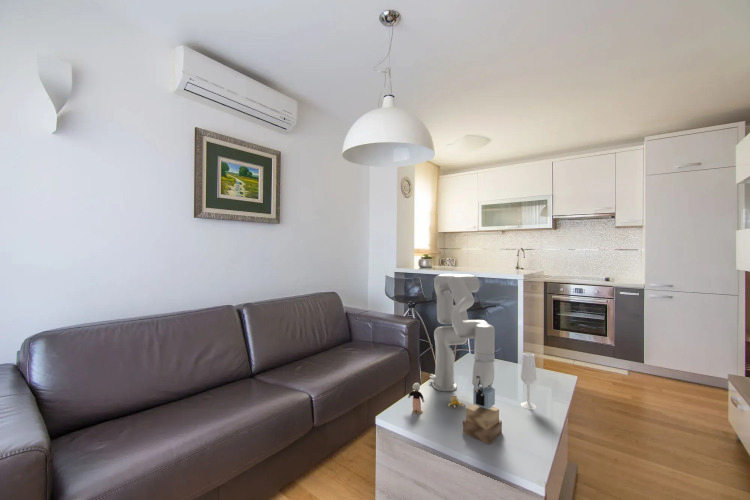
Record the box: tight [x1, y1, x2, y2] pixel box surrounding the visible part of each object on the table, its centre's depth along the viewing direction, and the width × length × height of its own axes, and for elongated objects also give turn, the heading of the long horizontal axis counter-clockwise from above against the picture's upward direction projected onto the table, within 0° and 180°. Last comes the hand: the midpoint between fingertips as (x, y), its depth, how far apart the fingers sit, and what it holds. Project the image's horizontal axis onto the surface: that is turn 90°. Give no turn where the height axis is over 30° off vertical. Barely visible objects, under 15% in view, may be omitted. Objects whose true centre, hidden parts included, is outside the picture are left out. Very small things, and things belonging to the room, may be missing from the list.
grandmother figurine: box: [407, 382, 425, 415], centre depth 142 cm, size 8×4×13 cm, turn 71°
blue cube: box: [472, 385, 496, 409], centre depth 125 cm, size 6×6×6 cm
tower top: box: [465, 403, 500, 430], centre depth 126 cm, size 9×9×5 cm
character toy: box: [447, 395, 466, 408], centre depth 147 cm, size 8×3×8 cm
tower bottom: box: [462, 418, 503, 446], centre depth 126 cm, size 11×11×5 cm
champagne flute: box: [520, 352, 537, 410], centre depth 148 cm, size 7×7×24 cm
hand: (483, 401), depth 125 cm, fingers closed on blue cube, 6 cm apart
